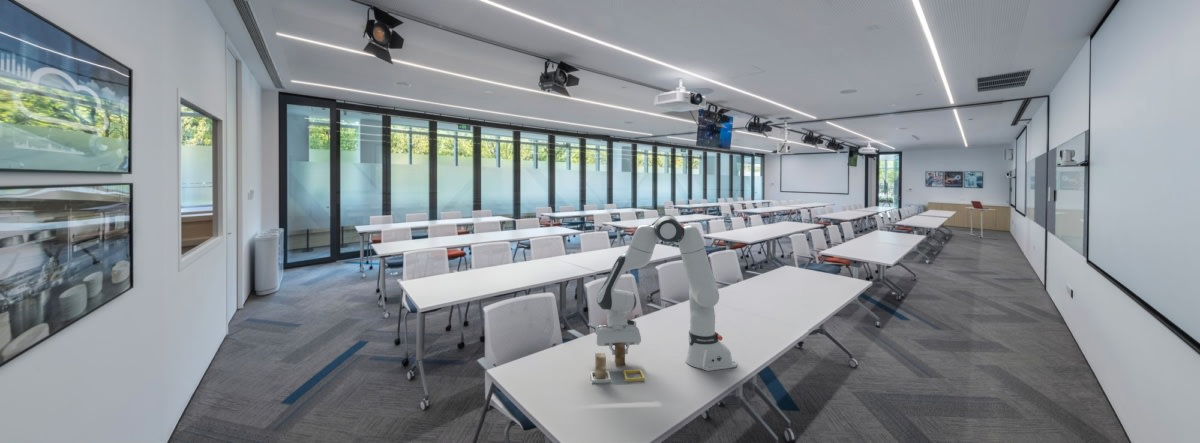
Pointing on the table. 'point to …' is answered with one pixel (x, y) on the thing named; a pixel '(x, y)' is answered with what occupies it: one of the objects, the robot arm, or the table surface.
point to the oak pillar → (600, 365)
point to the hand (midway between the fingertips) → (620, 354)
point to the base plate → (619, 378)
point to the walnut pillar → (620, 354)
